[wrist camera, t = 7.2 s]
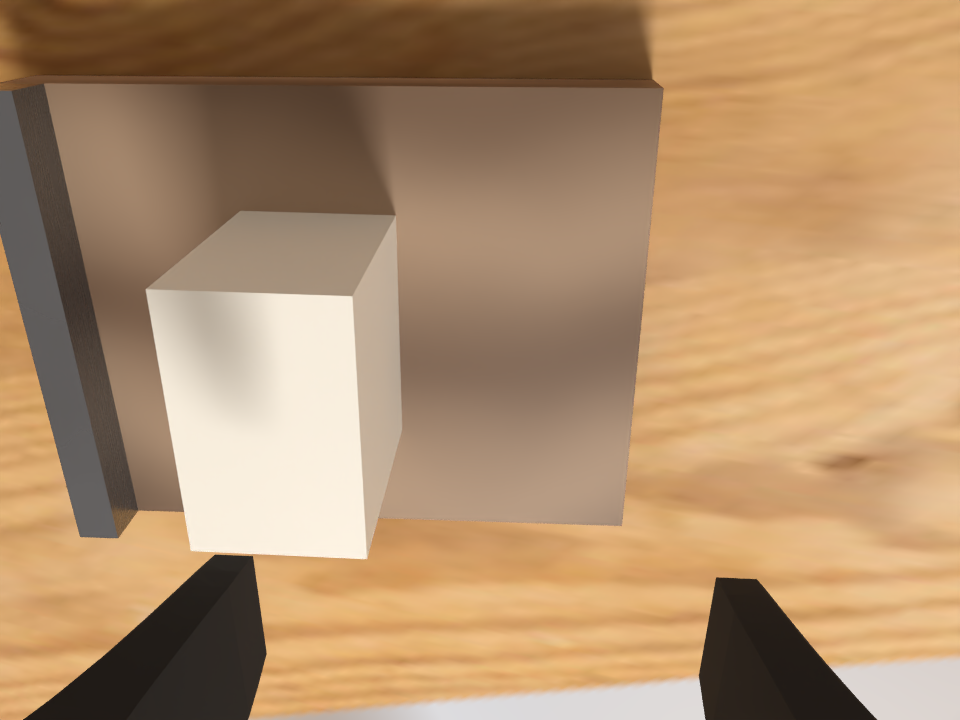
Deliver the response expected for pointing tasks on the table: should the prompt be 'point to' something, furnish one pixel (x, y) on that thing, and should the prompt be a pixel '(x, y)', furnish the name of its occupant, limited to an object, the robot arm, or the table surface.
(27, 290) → the rail
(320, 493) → the carton
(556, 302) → the shelf board
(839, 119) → the table surface
